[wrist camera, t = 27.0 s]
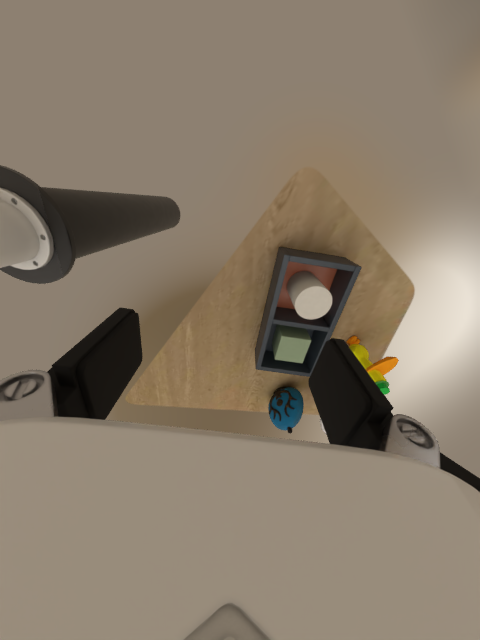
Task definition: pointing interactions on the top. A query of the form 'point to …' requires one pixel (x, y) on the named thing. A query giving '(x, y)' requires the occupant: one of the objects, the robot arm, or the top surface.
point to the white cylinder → (309, 295)
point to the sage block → (290, 343)
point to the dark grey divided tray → (281, 310)
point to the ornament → (286, 408)
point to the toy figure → (373, 369)
